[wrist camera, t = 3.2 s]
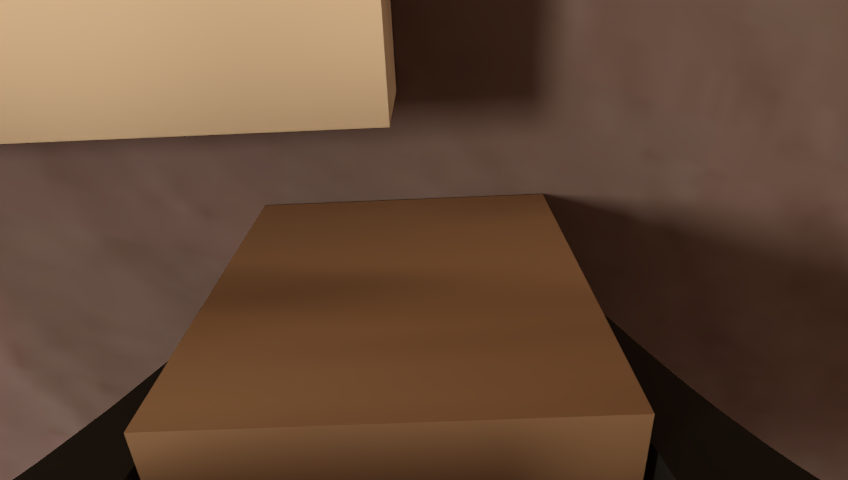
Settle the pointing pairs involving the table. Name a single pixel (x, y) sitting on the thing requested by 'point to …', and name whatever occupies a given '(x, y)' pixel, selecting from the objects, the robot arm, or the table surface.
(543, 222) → the walnut block
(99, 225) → the table surface
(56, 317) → the table surface
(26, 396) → the table surface
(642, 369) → the robot arm
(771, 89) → the table surface
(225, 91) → the birch base
